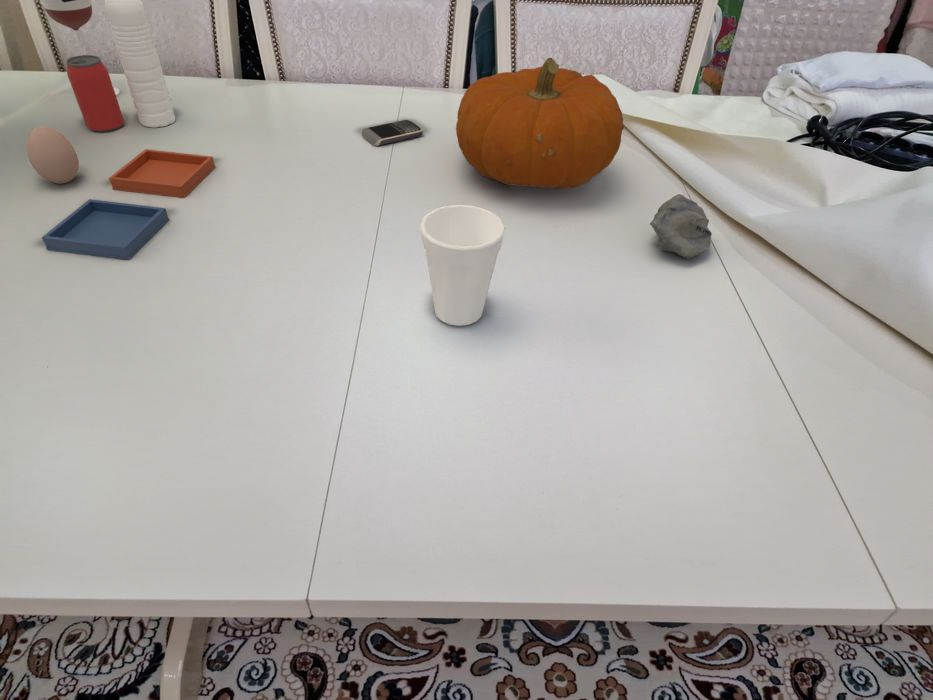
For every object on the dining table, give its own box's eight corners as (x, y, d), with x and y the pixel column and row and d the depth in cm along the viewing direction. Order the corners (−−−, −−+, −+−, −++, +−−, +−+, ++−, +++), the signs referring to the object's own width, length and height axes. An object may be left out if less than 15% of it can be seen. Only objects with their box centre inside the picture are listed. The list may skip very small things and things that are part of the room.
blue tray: (47, 249, 86) (41, 237, 85) (94, 210, 95) (89, 199, 93) (129, 260, 86) (124, 247, 84) (169, 219, 94) (165, 208, 92)
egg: (50, 172, 103) (26, 118, 97) (92, 172, 104) (71, 118, 98) (34, 191, 98) (8, 136, 92) (78, 191, 99) (55, 136, 93)
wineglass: (89, 83, 133) (47, -34, 118) (130, 88, 132) (94, -30, 118) (63, 98, 127) (16, -25, 112) (107, 102, 126) (65, -20, 111)
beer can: (87, 121, 119) (63, 55, 111) (124, 117, 121) (103, 52, 113) (86, 134, 114) (61, 67, 106) (125, 130, 116) (103, 64, 108)
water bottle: (141, 130, 117) (94, -21, 100) (138, 117, 121) (93, -29, 105) (189, 124, 120) (152, -23, 103) (185, 112, 124) (148, -31, 108)
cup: (436, 345, 75) (438, 255, 67) (409, 298, 82) (407, 211, 73) (509, 327, 79) (520, 239, 70) (477, 283, 85) (483, 198, 76)
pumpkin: (627, 163, 116) (654, 50, 103) (586, 230, 97) (612, 103, 84) (489, 131, 124) (497, 23, 111) (426, 187, 105) (427, 65, 92)
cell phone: (425, 136, 121) (425, 129, 120) (375, 148, 116) (375, 140, 115) (409, 125, 125) (409, 118, 124) (360, 136, 120) (359, 128, 119)
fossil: (674, 275, 89) (690, 227, 84) (626, 247, 94) (638, 200, 89) (719, 251, 94) (736, 204, 89) (671, 226, 100) (685, 180, 94)
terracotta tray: (112, 189, 100) (108, 178, 98) (149, 159, 108) (145, 149, 107) (184, 197, 99) (181, 186, 98) (215, 167, 107) (212, 156, 106)
